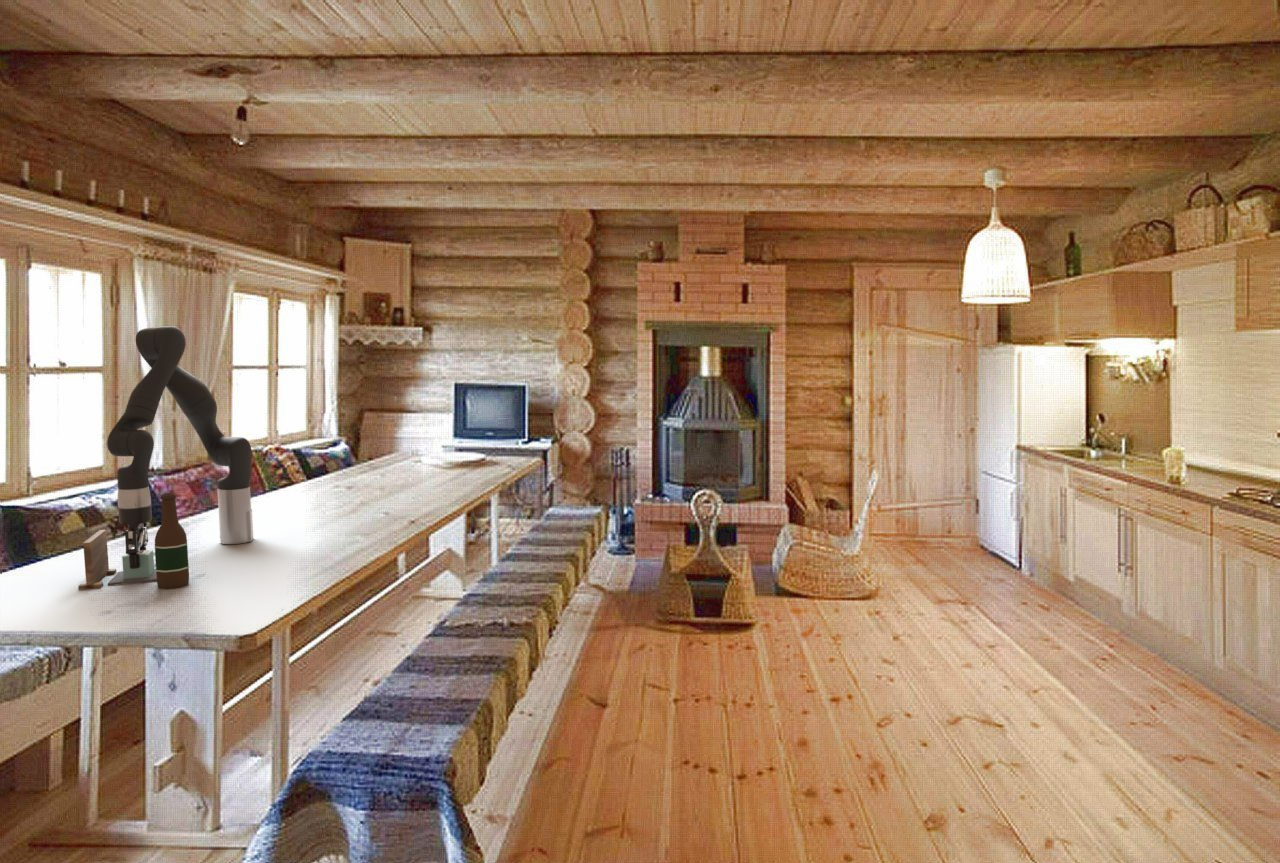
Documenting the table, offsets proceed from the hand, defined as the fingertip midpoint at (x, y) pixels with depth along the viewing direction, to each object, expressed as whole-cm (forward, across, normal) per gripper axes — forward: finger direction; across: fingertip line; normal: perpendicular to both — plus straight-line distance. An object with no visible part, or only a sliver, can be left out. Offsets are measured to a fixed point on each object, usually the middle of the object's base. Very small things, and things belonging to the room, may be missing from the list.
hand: (138, 564), depth 224 cm
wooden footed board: (+3, 0, +10) cm, 10 cm away
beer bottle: (+4, -12, -10) cm, 16 cm away
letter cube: (+3, 0, 0) cm, 3 cm away
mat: (+3, 0, 0) cm, 3 cm away
